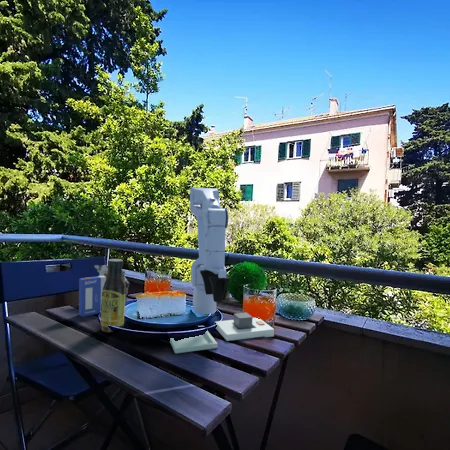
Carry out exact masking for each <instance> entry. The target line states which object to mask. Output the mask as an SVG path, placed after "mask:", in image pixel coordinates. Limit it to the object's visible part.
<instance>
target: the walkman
mask: <svg viewBox="0 0 450 450" xmlns="http://www.w3.org/2000/svg"><path fill="white" fill-rule="evenodd" d="M105 281H106V277H105V276H99V275H97V276H90V277H82V278H79V279H78V315H79V316H80V317H82V318H83V317H88V316H94V315H98V313H99V312H100V311H101V303H102V289H103V287H104V284H105ZM99 314H100V313H99Z"/></svg>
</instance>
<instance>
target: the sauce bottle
mask: <svg viewBox="0 0 450 450" xmlns="http://www.w3.org/2000/svg"><path fill="white" fill-rule="evenodd" d="M123 265H124V260H123V259H121V258H120V259H119V258H110V259H108V260H107V266H108V276H107V278H106V281H105V284H104V287H103V289H102V303H101V313H100V330H101V331H102V332H104V333H114V332H113V331H112V330H111V329H110V328H109V327H108V326H109V325H110V326H123V327H124V324H125V309H126V302H125V300H126V298H125V297H126V296H125V295H126V292H125V284H126V282H124V280H123V278H122V270H123Z"/></svg>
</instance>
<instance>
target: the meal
mask: <svg viewBox="0 0 450 450" xmlns="http://www.w3.org/2000/svg"><path fill="white" fill-rule="evenodd" d="M93 267H94V268H95V269H96V271H97V273H98V274H99V275H98V276H105V277H106V278H107V276H108V265H106V264H104V265H99V264H95V265H94V264H93ZM125 275H126V271H125V270H123V269H122V278H123V280H124V282H125V303H127V302H128V297H127V295H128V293H129V291H128V290H129V286H130V282H129V281H128V279H127V278H126V276H125ZM126 297H127V298H126Z"/></svg>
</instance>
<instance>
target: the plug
mask: <svg viewBox="0 0 450 450" xmlns="http://www.w3.org/2000/svg"><path fill="white" fill-rule="evenodd" d="M252 318H253V316H252V315H251V314H249V313H248V312H238V313H237V312H236V313H233V320H234V326H235V327H236V328H237V329H238V330H241V329H250V328H252Z"/></svg>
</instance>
